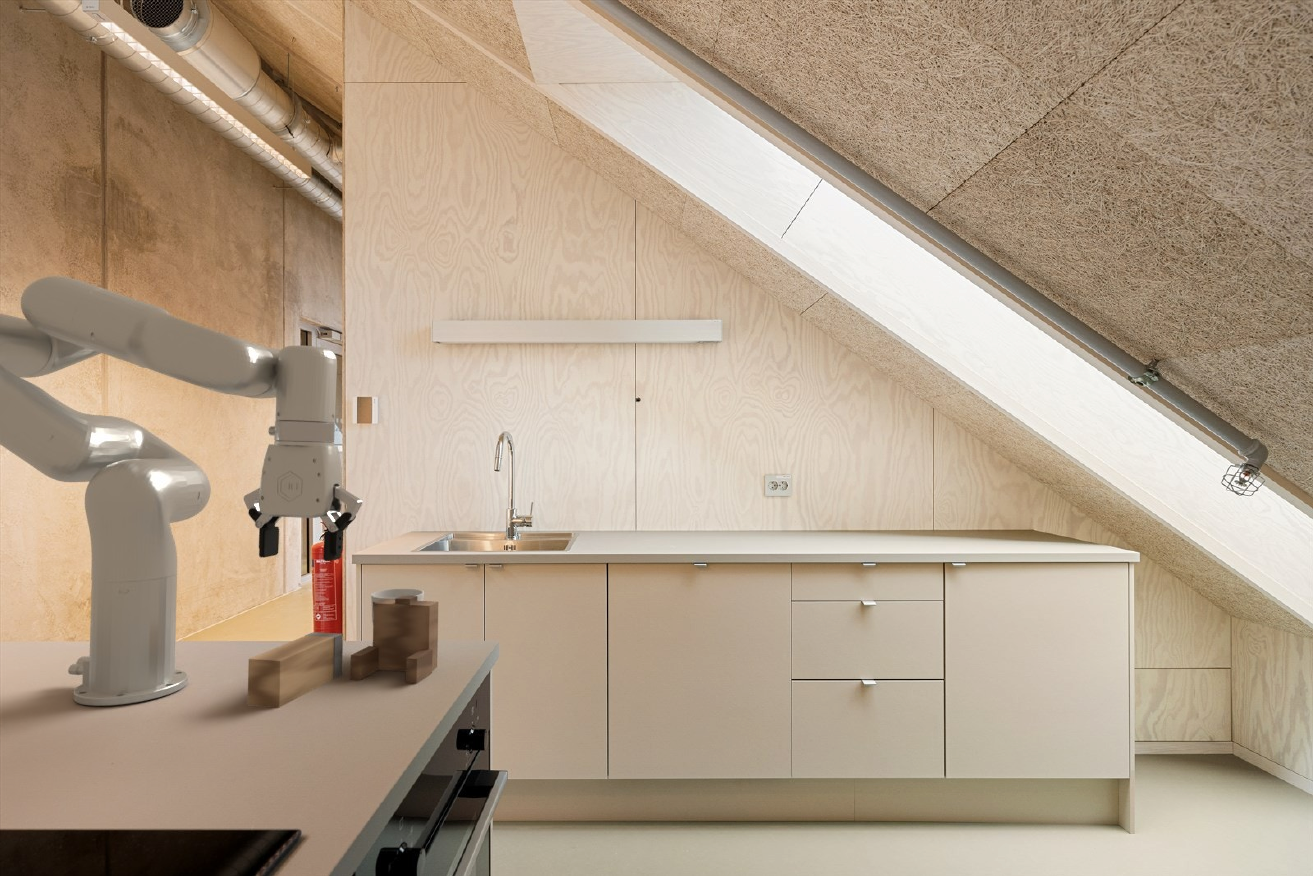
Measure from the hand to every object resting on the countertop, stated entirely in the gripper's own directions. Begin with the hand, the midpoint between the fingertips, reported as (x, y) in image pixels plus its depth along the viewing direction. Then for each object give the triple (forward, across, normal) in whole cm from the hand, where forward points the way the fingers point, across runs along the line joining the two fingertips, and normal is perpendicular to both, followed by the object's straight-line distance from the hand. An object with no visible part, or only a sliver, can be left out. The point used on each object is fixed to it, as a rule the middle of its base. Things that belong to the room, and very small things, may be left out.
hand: (300, 558), depth 101 cm
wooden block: (+18, 0, 0) cm, 18 cm away
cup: (+18, +5, +18) cm, 26 cm away
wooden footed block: (+18, +10, +9) cm, 23 cm away
